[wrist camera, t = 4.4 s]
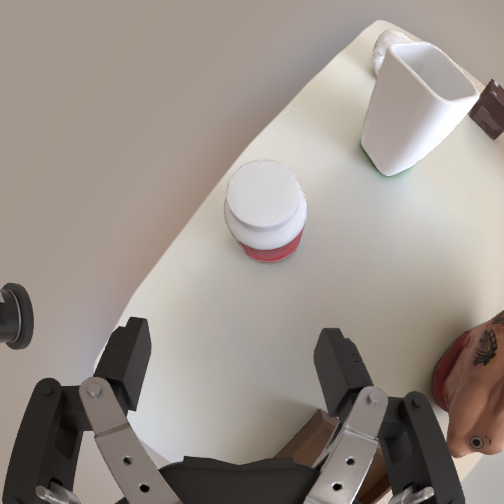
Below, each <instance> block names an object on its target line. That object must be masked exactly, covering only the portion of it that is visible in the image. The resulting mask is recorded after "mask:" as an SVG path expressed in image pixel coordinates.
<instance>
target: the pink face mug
mask: <svg viewBox="0 0 504 504" xmlns="http://www.w3.org/2000/svg"><path fill="white" fill-rule="evenodd" d="M432 391H433V395H434V398H435V400H436V402H437V403H438V405H439V406H440V407H441V408H442V409H443V410H445V411H446V412H448V414H449V426H448V431H447V439H446V443H447V446H448V449H449V451H450V454H451V455H452V456H453V457H454V458H461V457H463V456H465V455H467V454H470V453H473V452H480V453H483V454H486V455H494V454H497V453H499V452H501V451H502V450H504V310H503V311H502V312H500V313H499V314H497V315H496V316H495V317H493V318H492V319H491V320H489V321H487V322H485V323H483V324H481V325H479V326H477V327H475V328H473V329H472V330H470V331H466V332H464V333H463V334H462V335H460V336H459V337H458V338H457V339H456V340H455V341H454V342H453V343H452V344H451V345H450V347H449V348H448V350H447V351H446V353H445V354H444V356H443V358H442V359H441V361H440V362H439V364H438V365H437V367H436V369H435V372H434V377H433V387H432Z"/></svg>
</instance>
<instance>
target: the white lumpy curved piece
mask: <svg viewBox="0 0 504 504" xmlns="http://www.w3.org/2000/svg"><path fill="white" fill-rule="evenodd" d="M397 42H413V41H412V40H411V39H409V38H408V37H407V36H405V35H404V34H402V33H401V32H398V31H395V30H391V29H389V30H386V31H384V32H383V33H382V34H381V35H379V37H378V39H377V41H376V43H375V46H374V49H373V62H374V63H373V65H374V70H375V73H376V75H377V77H378V74H379V71H380V68H381V65H382V62H383V60H384V57H385V54H386V51H387V48H388V46H389V44H391V43H397Z"/></svg>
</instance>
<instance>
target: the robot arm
mask: <svg viewBox="0 0 504 504" xmlns="http://www.w3.org/2000/svg"><path fill="white" fill-rule="evenodd" d="M21 331H22V310H21V306H20V302H19V299H18V297H17V295H16V294H15V293H14V292H13V291H12V290H7V289H6V290H3V289H0V343H3V342H9V343H14V342H17V341H18V339H19V338H20V335H21ZM150 355H151V338H150V333H149V327H148V322H147V319H145V318H137V317H130V318H129V320H128V322H127V324H126V327H121V326H119V327H118V328H117V329H116V330H115V331H114V332H113V333H112V334H111V336H110V338H109V340H108V343H107V345H106V347H105V350H104V352H103V354H102V356H101V359H100V361H99V363H98V366H97V368H96V370H95V373H94V375H93V377H90V378H88V379H86V380H85V381H83V382H82V384H81V385H79V386H61V385H60V383H59V382H58V381H57V380H55V379H53V378H45V379H42V380H41V381H39V382H38V383H37V385H36V386H35V388H34V391H33V393H32V396H31V398H30V401H29V403H28V406H27V408H26V411H25V414H24V416H23V419H22V422H21V425H20V428H19V431H18V434H17V437H16V441H15V444H14V447H13V451H12V454H11V458H10V462H9V466H8V471H7V475H6V480H5V485H4V491H3V497H2V501H3V504H81V502H80V501H79V499H78V498H77V496H76V495H75V494H74V493H72V491H73V484H74V477H75V471H76V466H77V460H78V455H79V450H80V446H81V441H82V436H83V432H84V431H94V433H95V436H94V438H95V441H96V444H97V446H98V448H99V450H100V452H101V454H102V456H103V458H104V460H105V462H106V464H107V466H108V468H109V470H110V472H111V474H112V476H113V477H114V479H115V481H116V483H117V484H118V486H119V488H120V489H121V491H122V493H123V494H124V496H125V497H123V498H122V499H121V500H119V501H118V502H117V503H115V504H362V503H361V502H359V501H358V500H356V499H355V496H356V494H357V492H358V490H359V488H360V486H361V484H362V482H363V480H364V477H365V475H366V473H367V471H368V468H369V466H370V464H371V461H372V459H373V457H374V454H375V452H376V449H377V446H378V440H376V438H378V439H379V442H380V446H381V450H382V453H383V457H384V461H385V465H386V468H387V472H388V476H389V481H390V485H391V489H392V493H393V497H392V498H391V499H390V501H389V503H388V504H465V497H464V494H463V490H462V487H461V484H460V480H459V477H458V474H457V471H456V468H455V465H454V462H453V460H452V457H451V454H450V451H449V449H448V446H447V443H446V441H445V438H444V436H443V433H442V431H441V428H440V426H439V423H438V421H437V419H436V416H435V414H434V412H433V410H432V407H431V405H430V403H429V401H428V399H427V397H426V396H425V395H424V394H422V393H420V392H417V391H412V392H409V393H408V394H407V395H406V396H405V397H404V398H397V397H388V396H387V395H386V393H385V392H384V391H383V390H381V389H380V388H377V387H374V385H373V383H372V380H371V378H370V376H369V374H368V371H367V369H366V367H365V365H364V362H362V361H363V360H362V358H361V356H360V355H359V351H358V349H357V347H356V345H355V344H354V343H353V342H352V341H351V340H350V339H349V338H344V337H343V335H342V332H341V330H340V329H339V328H323V329H322V331H321V334H320V336H319V339H318V342H317V345H316V348H315V350H314V364H315V367H316V370H317V374H318V377H319V381H320V384H321V388H322V391H323V395H324V398H325V402H326V406H327V409H328V413H329V416H330V418H331V417H338V418H339V422H338V424H337V426H336V428H335V430H334V432H333V433H332V435H331V437H330V439H329V441H328V443H327V444H326V446H325V448H324V450H323V451H322V453H321V454H320V456H319V457H318V459H317V460H316V461H315V463H314V464H313V466H312V467H310V466H307V465H304V464H300V463H295V462H294V457H286V458H271V459H264V460H260V461H256V462H252V463H248V464H244V465H236V464H231V463H227V462H223V461H219V460H215V459H212V458H200V457H189V456H184V460H183V461H182V462H176V463H172V464H169V465H166V466H164V467H162V468H160V469H157V467H156V466H155V464H154V463H153V461H152V460H151V459H150V457H149V455H148V454H147V452H146V451H145V449H144V448H143V446H142V444H141V443H140V441H139V439H138V438H137V436H136V434H135V432H134V431H133V429H132V427H131V425H130V424H129V422H128V420H127V418H126V417H127V413H128V410H132V411H136V409H137V404H138V400H139V396H140V392H141V388H142V384H143V381H144V377H145V373H146V369H147V366H148V362H149V359H150Z"/></svg>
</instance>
